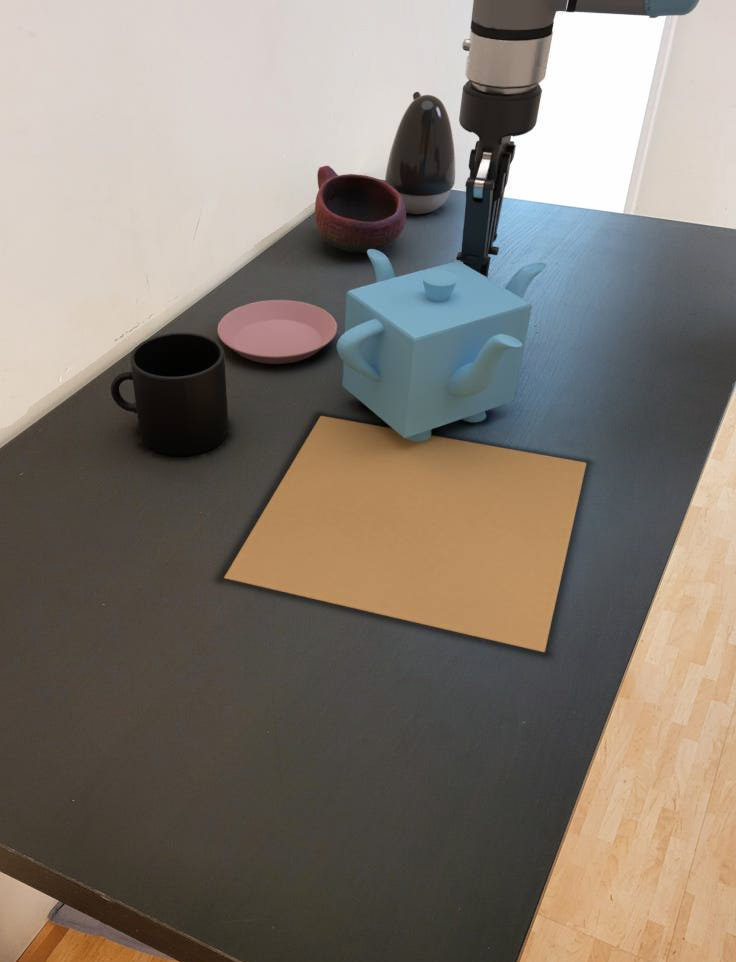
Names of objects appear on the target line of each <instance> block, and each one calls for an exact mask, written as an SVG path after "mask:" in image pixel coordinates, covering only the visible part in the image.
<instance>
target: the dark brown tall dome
mask: <svg viewBox="0 0 736 962" xmlns="http://www.w3.org/2000/svg"><path fill="white" fill-rule="evenodd" d="M412 99H413V100H412V101H411V103H410V104H409V105H408V106H407V108H406V110H405V112H404V113H403V115H402V118H401V120H400V122H399V123H398V127H397V129H396V132H395V135H394V138H393V141H392V145H391V149H390V152H389V157H388V159H387V160H388V161H387V165H386V170H385V177H384V178H385V179H384V182H386V183H388V184H389V185H391V186H392V187H393V188H394V189H395V190H397V191H398V193H399V194H400V195H401V196H402V199H403V201H404V205H405V211H406V214H411V215H412V214H413V215H424V214H425V215H426V214H429V213H432V212H434V211H436V210H437V209H439V208H441V207H442V206H443V205H444V204H445V203H446V201H447V199H448V198H449V196H450V194H451V191H452V189H453V188H454V187H455V183H456V154H455V153H456V152H455V143H454V136H453V129H452V125H451V120H450V117H449V114H448V111H447V109H446V106H445V104H444V103H443V102H442V101H441V99H440V98H438V97H437V96H435V95H432V94H424V95H421V92H419V91H415V92H414V93H413V94H412Z"/></svg>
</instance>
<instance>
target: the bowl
mask: <svg viewBox="0 0 736 962" xmlns="http://www.w3.org/2000/svg"><path fill="white" fill-rule="evenodd" d="M316 178H317V187H318V191H317V194H316V198H315V204H314V206H315V207H314V222H315V227H316V229H317V232H318V233H319V235H320V236H321V238H322V239H323V240H324V241H325V242H326V243H327V244H329V245H330V246H333V248H336V249H339V250H342V251H345V252H349V253H356V254H363V253H364V254H365V253H367V251H368V250H369V249H374V250H378V251H380V250H382V249H384V248H386V247H389V246H390V245H392V244H393V243H394V242H395V241H397V239H398V238H399V237H400V236H401V233H402V232H403V230H404V229H405V225H406V223H407V222H406V220H407V212H406V211H405V205H404V201H403V199H402V196H401V195H400V194H399V193H398V191H397V190H395V189H394V188H393V187H392V186H391V185H389V184H388V183H386V182H385V180H381V179H379V178H376V177H373V176H370V175H365V174H354V173H346V174H340V175H339V174H338V173H337V172H335V170H334V169H333V168H332V167H331V166H330V165H322V166H320V167H319V168H318V170H317V176H316Z"/></svg>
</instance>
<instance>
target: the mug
mask: <svg viewBox="0 0 736 962" xmlns="http://www.w3.org/2000/svg"><path fill="white" fill-rule="evenodd" d="M225 360H226V359H225V351H224V348H223V346H222V345H221V344H220V343H219V342H218V341H217V340H216V339H214V338H212V337H210V336H208V335H204V334H201V333H196V332H183V331H182V332H169V333H163V334H159V335H154V336H152V337H150V338H148V339H146V340H143V341H142V342H140V343H139V344H138V345H136V346H135V347H134V348H133V350H132V351H131V352H130V357H129V362H130V369H129V370H126V371H122V372H120V373H119V374H117V375H116V376H115V377H114V378H113V380H112V382H111V385H110V395H111V397H112V399H113V401H114V402H115V404H116V405H117V406H118V407H120V408H121V409H123V410H125V411H127V412H131V413H134V414H136V415H137V422H138V423H137V424H138V429H139V436H140V439H141V441H143V443H144V444H145V445H146V446H147V447H148V448H149V449H151V450H152V451H154V452H157V453H159V454H163V455H167V456H175V457H176V456H177V457H181V456H183V457H187V456H193V455H199V454H201V453H205V452H208V451H211V450H212V449H214V448H216V447H217V446H218V445H220V444H221V443H222V442H223V441H224V440H225V438H226V436H227V434H228V431H229V414H228V398H227V397H228V396H227V379H226V378H227V377H226V361H225ZM128 380H129V381H132V385H133V393H134V402H130V401H127V400H126V399H125V398H124V397H123V396H122V394H121V391H120V386H121V384H123V382H125V381H128Z"/></svg>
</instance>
